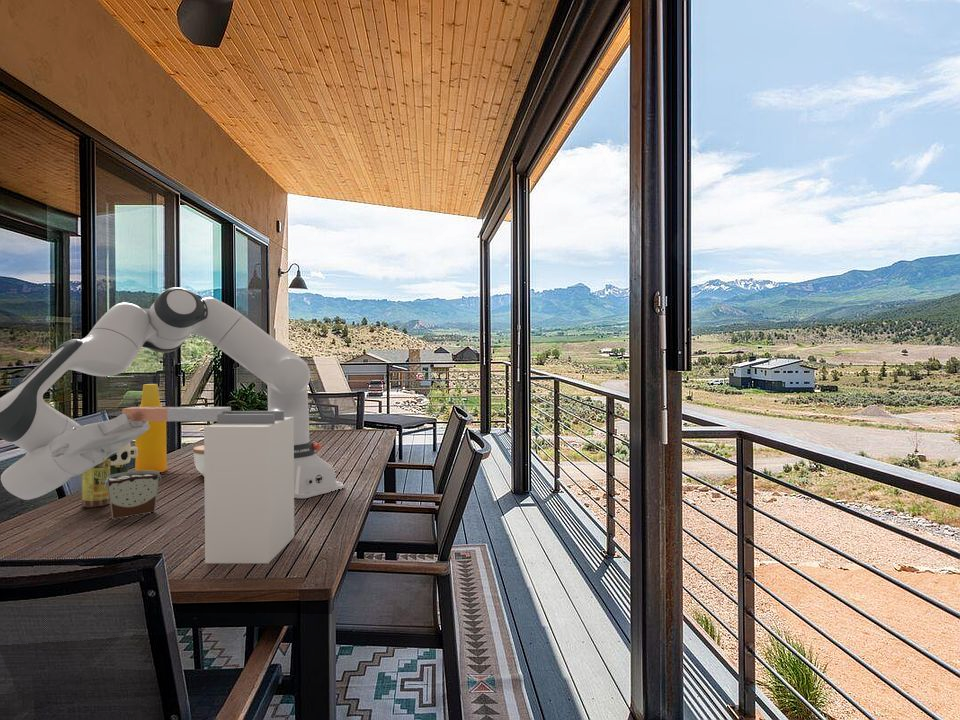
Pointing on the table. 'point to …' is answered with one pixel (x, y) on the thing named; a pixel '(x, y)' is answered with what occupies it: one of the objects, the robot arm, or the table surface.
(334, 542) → the table surface
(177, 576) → the table surface
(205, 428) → the stand
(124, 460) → the character mug
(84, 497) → the sauce bottle
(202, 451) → the lidded bowl
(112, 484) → the half round cake
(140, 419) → the knife
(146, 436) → the yellow bottle
